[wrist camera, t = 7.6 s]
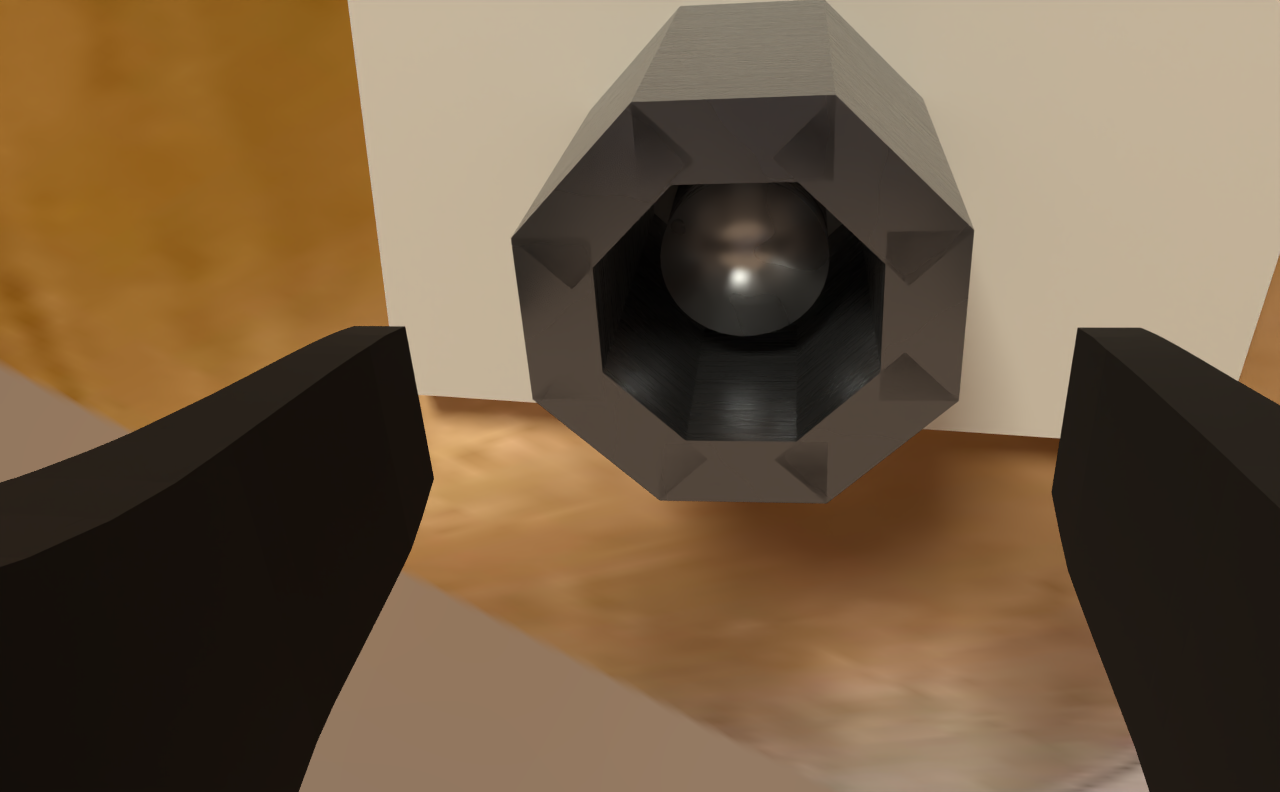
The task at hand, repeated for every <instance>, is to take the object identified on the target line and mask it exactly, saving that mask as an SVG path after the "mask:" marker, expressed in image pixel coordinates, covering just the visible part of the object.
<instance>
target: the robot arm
mask: <svg viewBox="0 0 1280 792" xmlns="http://www.w3.org/2000/svg"><path fill="white" fill-rule="evenodd" d="M433 480H434V476H433V471H432V466H431V460H430V455H429V450H428V445H427V439H426V434H425V429H424V423H423V418H422V413H421V407H420V402H419V397H418V391H417V386H416V381H415V375H414V370H413V365H412V359H411V354H410V349H409V343H408V338H407V333H406V328H405V326H353V327H350V328H347V329H344V330H341V331H338V332H336V333H333V334H331V335H329V336H326V337H324V338H322V339H320V340H318V341H315V342H313V343H311V344H309V345H307V346H305V347H303V348H301V349H299V350H297V351H295V352H293V353H291V354H289V355H287V356H285V357H283V358H281V359H279V360H278V361H276V362H274V363H272V364H270V365H268V366H266V367H264V368H262V369H260V370H258V371H256V372H254V373H252V374H250V375H249V376H247V377H245V378H243V379H241V380H239V381H237V382H235V383H233V384H231V385H229V386H227V387H225V388H223V389H221V390H220V391H218V392H216V393H214V394H212V395H210V396H208V397H205V398H203V399H201V400H199V401H197V402H195V403H193V404H191V405H189V406H187V407H185V408H182V409H180V410H178V411H176V412H174V413H172V414H170V415H168V416H166V417H164V418H161V419H159V420H157V421H155V422H153V423H151V424H149V425H147V426H145V427H143V428H140V429H138V430H136V431H134V432H132V433H130V434H127V435H125V436H123V437H120V438H118V439H116V440H114V441H111V442H109V443H106V444H104V445H101V446H99V447H97V448H94V449H92V450H89V451H87V452H84V453H82V454H79V455H77V456H74V457H71V458H68V459H66V460H63V461H61V462H58V463H55V464H53V465H50V466H47V467H45V468H42V469H39V470H37V471H34V472H31V473H28V474H25V475H23V476H20V477H17V478H14V479H10V480H7V481H4V482H1V483H0V792H299V789H300V787H301V784H302V781H303V778H304V775H305V773H306V770H307V767H308V765H309V762H310V759H311V757H312V754H313V751H314V749H315V745H316V743H317V741H318V738H319V736H320V734H321V732H322V729H323V727H324V725H325V723H326V721H327V718H328V716H329V714H330V712H331V709H332V707H333V705H334V703H335V701H336V699H337V697H338V695H339V693H340V691H341V689H342V687H343V685H344V683H345V681H346V679H347V677H348V675H349V673H350V671H351V669H352V667H353V665H354V663H355V662H356V659H357V658H358V656H359V654H360V652H361V650H362V648H363V646H364V644H365V642H366V640H367V638H368V636H369V634H370V632H371V630H372V628H373V626H374V624H375V622H376V620H377V618H378V616H379V614H380V612H381V610H382V608H383V606H384V604H385V602H386V600H387V598H388V596H389V594H390V592H391V590H392V588H393V586H394V584H395V582H396V580H397V578H398V576H399V574H400V572H401V570H402V568H403V566H404V564H405V562H406V560H407V557H408V555H409V553H410V551H411V549H412V546H413V543H414V540H415V537H416V534H417V531H418V528H419V525H420V522H421V520H422V516H423V513H424V510H425V506H426V503H427V500H428V496H429V493H430V490H431V486H432V483H433ZM1052 497H1053V502H1054V507H1055V512H1056V517H1057V522H1058V527H1059V532H1060V537H1061V542H1062V546H1063V550H1064V555H1065V559H1066V564H1067V568H1068V572H1069V574H1070V577H1071V580H1072V583H1073V586H1074V588H1075V591H1076V594H1077V596H1078V599H1079V602H1080V605H1081V607H1082V610H1083V613H1084V615H1085V618H1086V621H1087V623H1088V626H1089V629H1090V631H1091V634H1092V636H1093V639H1094V642H1095V644H1096V647H1097V650H1098V652H1099V655H1100V657H1101V660H1102V663H1103V665H1104V668H1105V670H1106V673H1107V676H1108V678H1109V681H1110V683H1111V686H1112V689H1113V691H1114V694H1115V696H1116V699H1117V702H1118V704H1119V707H1120V709H1121V712H1122V715H1123V717H1124V720H1125V722H1126V725H1127V728H1128V730H1129V733H1130V735H1131V738H1132V741H1133V743H1134V746H1135V749H1136V752H1137V755H1138V758H1139V761H1140V764H1141V767H1142V770H1143V773H1144V776H1145V779H1146V782H1147V785H1148V788H1149V792H1280V405H1278V404H1277V403H1275V402H1273V401H1271V400H1270V399H1268V398H1266V397H1264V396H1263V395H1261V394H1259V393H1257V392H1256V391H1254V390H1252V389H1251V388H1249V387H1247V386H1245V385H1244V384H1242V383H1240V382H1239V381H1237V380H1235V379H1234V378H1232V377H1230V376H1229V375H1227V374H1225V373H1223V372H1222V371H1220V370H1218V369H1217V368H1215V367H1213V366H1212V365H1210V364H1208V363H1207V362H1205V361H1203V360H1202V359H1200V358H1198V357H1196V356H1195V355H1193V354H1191V353H1190V352H1188V351H1186V350H1184V349H1183V348H1181V347H1179V346H1177V345H1175V344H1174V343H1172V342H1170V341H1168V340H1166V339H1164V338H1163V337H1161V336H1159V335H1156V334H1154V333H1152V332H1150V331H1148V330H1145V329H1143V328H1085V327H1078V328H1077V334H1076V340H1075V347H1074V353H1073V359H1072V366H1071V372H1070V378H1069V385H1068V391H1067V397H1066V404H1065V410H1064V416H1063V423H1062V429H1061V436H1060V442H1059V448H1058V455H1057V461H1056V467H1055V474H1054V480H1053V486H1052Z"/></svg>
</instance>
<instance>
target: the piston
mask: <svg viewBox="0 0 1280 792" xmlns="http://www.w3.org/2000/svg"><path fill="white" fill-rule="evenodd" d="M660 259H661V269H662V275H663V278H664V281H665V284H666V287H667V289H668V291H669V293H670V295H671V296H672V298H673V299H674V301H675V302H676V304H677V305H678V306H679V307H680V308H681V309H682V310H683V311H684V312H685V313H686V314H687V315H688V316H689V317H691V318H692V319H693V320H695V321H696V322H698V323H699V324H701V325H703V326H705V327H707V328H709V329H712V330H714V331H717V332H720V333H724V334H728V335H736V336H754V335H762V334H766V333H770V332H773V331H776V330H779V329H781V328H783V327H785V326H787V325H789V324H791V323H792V322H794V321H795V320H797V319H798V318H800V317H801V316H802V315H803V314H804V313H805V312H806V311H807V310H808V309H809V308H810V307H811V306H812V305H813V304H814V302H815V301H816V299H817V298H818V296H819V295H820V293H821V291H822V289H823V286H824V284H825V281H826V278H827V274H828V268H829V244H828V229H827V214H826V208H825V207H824V206H823V205H822V204H821V203H820V202H819V201H818V200H817V199H816V198H815V197H813V196H812V195H811V194H810V193H809V192H808V191H807V190H806V189H805V188H804V187H803V186H802V185H801V184H800V183H798V182H770V183H730V184H689V185H678V188H677V192H676V195H675V198H674V202H673V205H672V209H671V212H670V216H669V219H668V223H667V226H666V229H665V233H664V236H663V241H662V245H661V255H660Z"/></svg>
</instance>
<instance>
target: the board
mask: <svg viewBox="0 0 1280 792" xmlns="http://www.w3.org/2000/svg"><path fill="white" fill-rule="evenodd" d="M773 1H794V0H348V6H349V14H350V22H351V30H352V37H353V45H354V53H355V61H356V69H357V77H358V85H359V92H360V100H361V108H362V116H363V124H364V132H365V140H366V147H367V155H368V163H369V171H370V179H371V187H372V194H373V202H374V210H375V218H376V226H377V234H378V242H379V249H380V257H381V265H382V273H383V281H384V289H385V297H386V304H387V312H388V320H389V326H405V328H406V333H407V338H408V343H409V349H410V354H411V359H412V365H413V370H414V375H415V381H416V386H417V391H418V395H431V396H445V397H460V398H475V399H489V400H504V401H519V402H534V403H537V402H536V401H534V400H533V399H532V391H531V384H530V376H529V369H528V362H527V354H526V347H525V340H524V332H523V325H522V318H521V310H520V303H519V295H518V288H517V281H516V273H515V266H514V259H513V251H512V244H511V237H512V236H513V234H514V232H515V231H516V229H517V228H518V226H519V224H520V223H521V221H522V219H523V218H524V216H525V215H526V213H527V211H528V210H529V208H530V207H531V205H532V203H533V202H534V200H535V198H536V197H537V195H538V194H539V192H540V190H541V189H542V187H543V186H544V184H545V182H546V181H547V179H548V178H549V176H550V174H551V173H552V171H553V169H554V168H555V166H556V165H557V163H558V161H559V160H560V158H561V157H562V155H563V153H564V152H565V150H566V149H567V147H568V145H569V144H570V142H571V140H572V139H573V137H574V136H575V134H576V132H577V131H578V129H579V128H580V126H581V124H582V123H583V121H584V119H585V118H586V116H587V115H588V113H589V111H590V110H591V109H592V108H593V106H594V105H595V104H596V103H597V102H598V101H599V99H600V98H601V97H602V96H603V95H604V94H605V92H606V91H607V90H608V89H609V88H610V87H611V86H612V84H613V83H614V82H615V81H616V80H617V79H618V77H619V76H620V75H621V74H622V73H623V72H624V70H625V69H626V68H627V67H628V66H629V65H630V64H631V62H632V61H633V60H634V59H635V58H636V57H637V55H638V54H639V53H640V52H641V51H642V50H643V48H644V47H645V46H646V45H647V44H648V43H649V41H650V40H651V39H652V38H653V37H654V36H655V35H656V33H657V32H658V31H659V30H660V29H661V28H662V26H663V25H664V24H665V23H666V22H667V21H668V19H669V18H670V17H671V16H672V15H673V14H674V13H675V11H676V10H677V9H678V8H679V7H680V6H691V5H712V4H732V3H753V2H773ZM825 1H826V2H827V3H828V4H829V5H830V6H831V7H832V8H833V9H834V10H835V11H836V12H837V13H838V14H839V15H840V16H841V17H842V18H843V19H844V20H845V21H846V22H847V23H848V24H849V25H850V26H851V27H852V28H853V29H854V30H855V31H856V32H857V33H858V34H859V35H860V36H861V37H862V38H863V39H864V40H865V41H866V42H867V43H868V44H869V45H870V46H871V47H872V48H873V49H874V50H875V51H876V52H877V53H878V54H879V55H880V56H881V57H882V58H883V59H884V60H885V61H886V62H887V63H888V64H889V65H890V66H891V67H892V68H893V69H894V70H895V71H896V72H897V73H898V74H899V75H900V76H901V77H902V78H903V79H904V80H905V81H906V82H907V83H908V84H909V85H910V86H911V87H912V88H913V89H914V90H915V91H916V92H917V93H918V94H919V95H920V96H921V97H922V98H923V100H924V102H925V105H926V107H927V110H928V113H929V115H930V118H931V120H932V123H933V125H934V128H935V130H936V133H937V136H938V138H939V141H940V143H941V146H942V148H943V151H944V154H945V156H946V159H947V161H948V164H949V166H950V169H951V171H952V174H953V177H954V179H955V182H956V184H957V187H958V189H959V192H960V195H961V197H962V200H963V202H964V205H965V207H966V210H967V212H968V215H969V218H970V220H971V223H972V225H973V228H974V240H973V251H972V262H971V273H970V284H969V295H968V306H967V317H966V328H965V339H964V350H963V361H962V372H961V383H960V394H959V401H958V402H957V403H956V404H954V405H953V406H952V407H950V408H949V409H948V410H947V411H945V412H944V413H943V414H941V415H940V416H939V417H937V418H936V419H935V420H934V421H932V422H931V423H930V424H928V425H927V426H926V427H925V428H923V429H930V430H945V431H960V432H974V433H989V434H1004V435H1018V436H1033V437H1048V438H1060V436H1061V429H1062V423H1063V416H1064V410H1065V404H1066V397H1067V391H1068V385H1069V378H1070V372H1071V366H1072V359H1073V353H1074V347H1075V340H1076V334H1077V328H1078V327H1085V328H1143V329H1145V330H1148V331H1150V332H1152V333H1154V334H1156V335H1159V336H1161V337H1163V338H1164V339H1166V340H1168V341H1170V342H1172V343H1174V344H1175V345H1177V346H1179V347H1181V348H1183V349H1184V350H1186V351H1188V352H1190V353H1191V354H1193V355H1195V356H1196V357H1198V358H1200V359H1202V360H1203V361H1205V362H1207V363H1208V364H1210V365H1212V366H1213V367H1215V368H1217V369H1218V370H1220V371H1222V372H1223V373H1225V374H1227V375H1229V376H1230V377H1232V378H1234V379H1235V380H1237V381H1238V380H1239V377H1240V374H1241V371H1242V368H1243V365H1244V362H1245V359H1246V356H1247V352H1248V349H1249V346H1250V343H1251V340H1252V337H1253V334H1254V331H1255V328H1256V325H1257V322H1258V319H1259V316H1260V313H1261V309H1262V306H1263V303H1264V300H1265V297H1266V294H1267V291H1268V288H1269V285H1270V282H1271V279H1272V276H1273V273H1274V270H1275V266H1276V263H1277V260H1278V257H1279V254H1280V0H825ZM677 188H678V185H671V186H670V187H669V188H668V189H667V190H666V191H665V192H664V193H663V194H662V195H661V196H660V198H659V199H658V200H657V201H656V202H655V203H654V213H655V214H656V215H657V216H658V217H659V218H660V219H661V220H663V221H664V222H665V223H666V224H667V223H668V219H669V216H670V212H671V209H672V205H673V202H674V198H675V195H676V192H677ZM826 214H827V229H828V236H829V235H830V234H831V233H832V232H834V231H835V230H836V229H837V228H838V227H839V226H840V225H841V224H842V223H841V222H840V221H839V220H838V219H837V218H836V217H835V216H834V215H833V214H832V213H831V212H829V211H828V210H827V209H826Z"/></svg>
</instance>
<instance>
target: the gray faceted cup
mask: <svg viewBox="0 0 1280 792" xmlns="http://www.w3.org/2000/svg"><path fill="white" fill-rule="evenodd" d="M770 182H798V183H800V184H801V185H802V186H803V187H804V188H805V189H806V190H807V191H808V192H809V193H810V194H811V195H812V196H813V197H815V198H816V199H817V200H818V201H819V202H820V203H821V204H822V205H823V206H824V207H825V208H826V209H827V210H828V211H829V212H831V213H832V214H833V215H834V216H835V217H836V218H837V219H838V220H839V221H840V222H841V223H842V224H841V225H840V226H839V227H838V228H837V229H836V230H835V231H834V232H832V233H831V234H830V235H829V236H828V244H829V268H828V274H827V278H826V281H825V284H824V286H823V289H822V291H821V293H820V295H819V296H818V298H817V299H816V301H815V302H814V304H813V305H812V306H811V307H810V308H809V309H808V310H807V311H806V312H805V313H804V314H803V315H802V316H801V317H800V318H798V319H797V320H795V321H794V322H792V323H791V324H789V325H787V326H785V327H783V328H781V329H779V330H776V331H773V332H770V333H766V334H762V335H754V336H736V335H728V334H724V333H720V332H717V331H714V330H712V329H709V328H707V327H705V326H703V325H701V324H699V323H698V322H696V321H695V320H693V319H692V318H691V317H689V316H688V315H687V314H686V313H685V312H684V311H683V310H682V309H681V308H680V307H679V306H678V305H677V304H676V302H675V301H674V299H673V298H672V296H671V295H670V293H669V291H668V289H667V287H666V284H665V281H664V278H663V275H662V269H661V259H660V255H661V245H662V241H663V236H664V233H665V229H666V226H667V224H666V223H665V222H664V221H663V220H661V219H660V218H659V217H658V216H657V215H656V214H655V213H654V203H655V202H656V201H657V200H658V199H659V198H660V196H661V195H662V194H663V193H664V192H665V191H666V190H667V189H668V188H669V187H670V186H671V185H689V184H730V183H770ZM973 240H974V228H973V225H972V223H971V220H970V218H969V215H968V212H967V210H966V207H965V205H964V202H963V200H962V197H961V195H960V192H959V189H958V187H957V184H956V182H955V179H954V177H953V174H952V171H951V169H950V166H949V164H948V161H947V159H946V156H945V154H944V151H943V148H942V146H941V143H940V141H939V138H938V136H937V133H936V130H935V128H934V125H933V123H932V120H931V118H930V115H929V113H928V110H927V107H926V105H925V102H924V100H923V98H922V97H921V96H920V95H919V94H918V93H917V92H916V91H915V90H914V89H913V88H912V87H911V86H910V85H909V84H908V83H907V82H906V81H905V80H904V79H903V78H902V77H901V76H900V75H899V74H898V73H897V72H896V71H895V70H894V69H893V68H892V67H891V66H890V65H889V64H888V63H887V62H886V61H885V60H884V59H883V58H882V57H881V56H880V55H879V54H878V53H877V52H876V51H875V50H874V49H873V48H872V47H871V46H870V45H869V44H868V43H867V42H866V41H865V40H864V39H863V38H862V37H861V36H860V35H859V34H858V33H857V32H856V31H855V30H854V29H853V28H852V27H851V26H850V25H849V24H848V23H847V22H846V21H845V20H844V19H843V18H842V17H841V16H840V15H839V14H838V13H837V12H836V11H835V10H834V9H833V8H832V7H831V6H830V5H829V4H828V3H827V2H826V1H825V0H794V1H773V2H753V3H732V4H712V5H691V6H680V7H679V8H678V9H677V10H676V11H675V13H674V14H673V15H672V16H671V17H670V18H669V19H668V21H667V22H666V23H665V24H664V25H663V26H662V28H661V29H660V30H659V31H658V32H657V33H656V35H655V36H654V37H653V38H652V39H651V40H650V41H649V43H648V44H647V45H646V46H645V47H644V48H643V50H642V51H641V52H640V53H639V54H638V55H637V57H636V58H635V59H634V60H633V61H632V62H631V64H630V65H629V66H628V67H627V68H626V69H625V70H624V72H623V73H622V74H621V75H620V76H619V77H618V79H617V80H616V81H615V82H614V83H613V84H612V86H611V87H610V88H609V89H608V90H607V91H606V92H605V94H604V95H603V96H602V97H601V98H600V99H599V101H598V102H597V103H596V104H595V105H594V106H593V108H592V109H591V110H590V111H589V113H588V115H587V116H586V118H585V119H584V121H583V123H582V124H581V126H580V128H579V129H578V131H577V132H576V134H575V136H574V137H573V139H572V140H571V142H570V144H569V145H568V147H567V149H566V150H565V152H564V153H563V155H562V157H561V158H560V160H559V161H558V163H557V165H556V166H555V168H554V169H553V171H552V173H551V174H550V176H549V178H548V179H547V181H546V182H545V184H544V186H543V187H542V189H541V190H540V192H539V194H538V195H537V197H536V198H535V200H534V202H533V203H532V205H531V207H530V208H529V210H528V211H527V213H526V215H525V216H524V218H523V219H522V221H521V223H520V224H519V226H518V228H517V229H516V231H515V232H514V234H513V236H512V237H511V244H512V251H513V259H514V266H515V273H516V281H517V288H518V295H519V303H520V310H521V318H522V325H523V332H524V340H525V347H526V354H527V362H528V369H529V376H530V384H531V391H532V399H533V400H534V401H536V402H537V403H538V404H539V405H541V406H542V407H543V408H544V409H546V410H547V411H548V412H549V413H551V414H552V415H553V416H554V417H556V418H557V419H558V420H559V421H561V422H562V423H563V424H564V425H566V426H567V427H568V428H569V429H571V430H572V431H573V432H574V433H576V434H577V435H578V436H579V437H581V438H582V439H583V440H585V441H586V442H587V443H588V444H590V445H591V446H592V447H593V448H595V449H596V450H597V451H598V452H600V453H601V454H602V455H603V456H605V457H606V458H607V459H608V460H610V461H611V462H612V463H613V464H615V465H616V466H617V467H618V468H620V469H621V470H622V471H623V472H625V473H626V474H627V475H628V476H630V477H631V478H632V479H633V480H635V481H636V482H637V483H639V484H640V485H641V486H642V487H644V488H645V489H646V490H647V491H649V492H650V493H651V494H652V495H654V496H655V497H656V498H657V499H659V500H664V501H720V502H776V503H828V502H829V501H830V500H832V499H833V498H834V497H836V496H837V495H838V494H839V493H841V492H842V491H843V490H845V489H846V488H847V487H848V486H850V485H851V484H852V483H854V482H855V481H856V480H857V479H859V478H860V477H861V476H863V475H864V474H865V473H866V472H868V471H869V470H870V469H872V468H873V467H874V466H876V465H877V464H878V463H879V462H881V461H882V460H883V459H885V458H886V457H887V456H888V455H890V454H891V453H892V452H894V451H895V450H896V449H897V448H899V447H900V446H901V445H903V444H904V443H905V442H906V441H908V440H909V439H910V438H912V437H913V436H914V435H916V434H917V433H918V432H919V431H921V430H922V429H923V428H925V427H926V426H927V425H928V424H930V423H931V422H932V421H934V420H935V419H936V418H937V417H939V416H940V415H941V414H943V413H944V412H945V411H947V410H948V409H949V408H950V407H952V406H953V405H954V404H956V403H957V402H958V401H959V394H960V383H961V372H962V361H963V350H964V339H965V328H966V317H967V306H968V295H969V284H970V273H971V262H972V251H973Z"/></svg>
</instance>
